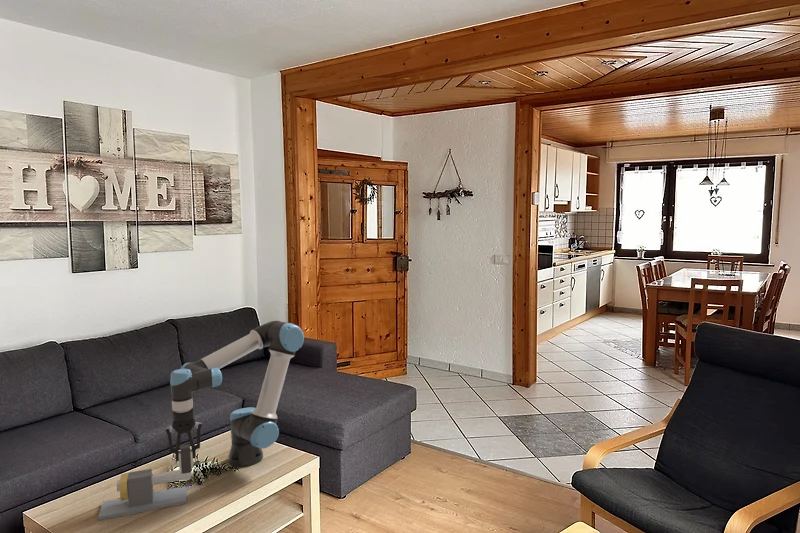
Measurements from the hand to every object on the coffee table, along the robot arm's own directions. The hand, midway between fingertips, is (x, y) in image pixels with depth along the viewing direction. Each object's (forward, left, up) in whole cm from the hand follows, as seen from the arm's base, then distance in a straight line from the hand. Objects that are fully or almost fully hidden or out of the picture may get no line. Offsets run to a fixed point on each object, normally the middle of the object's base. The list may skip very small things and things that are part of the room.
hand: (186, 467), depth 214 cm
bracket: (+16, 0, -12) cm, 20 cm away
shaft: (+11, 0, -4) cm, 12 cm away
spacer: (+22, 0, -7) cm, 23 cm away
